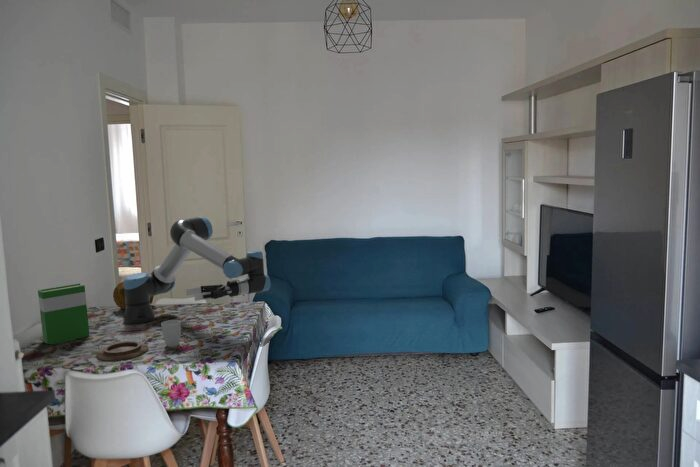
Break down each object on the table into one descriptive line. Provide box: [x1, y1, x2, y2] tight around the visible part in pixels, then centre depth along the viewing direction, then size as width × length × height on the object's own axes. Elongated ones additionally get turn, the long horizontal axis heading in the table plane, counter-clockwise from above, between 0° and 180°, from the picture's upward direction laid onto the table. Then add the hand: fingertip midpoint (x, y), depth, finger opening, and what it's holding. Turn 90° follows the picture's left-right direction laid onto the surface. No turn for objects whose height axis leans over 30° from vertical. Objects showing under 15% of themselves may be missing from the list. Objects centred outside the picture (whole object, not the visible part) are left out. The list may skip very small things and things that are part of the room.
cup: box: [160, 319, 182, 348], centre depth 236 cm, size 8×8×10 cm
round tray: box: [96, 340, 149, 362], centre depth 229 cm, size 20×20×2 cm
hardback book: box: [37, 283, 91, 345], centre depth 250 cm, size 18×7×24 cm, turn 133°
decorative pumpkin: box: [112, 280, 155, 310], centre depth 303 cm, size 20×21×20 cm
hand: (190, 295), depth 239 cm, fingers open, 13 cm apart
